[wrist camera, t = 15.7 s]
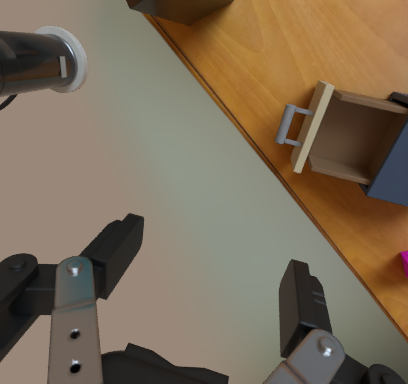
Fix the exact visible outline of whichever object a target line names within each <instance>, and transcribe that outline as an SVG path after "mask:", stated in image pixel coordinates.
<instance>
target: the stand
mask: <svg viewBox="0 0 408 384" xmlns="http://www.w3.org/2000/svg"><path fill="white" fill-rule="evenodd" d="M126 1H127V3H128V6H129V8H130V9H133V10H136V11H140V12H143V13H146V14H150V15H153V16H157V17H160V18H163V19H167V20H170V21H174V22H177V23H180V24H184V25H187V26H190V25H192V24H194V23H195V22H197V21H199V20H201V19H202V18H204V17H206V16H208V15H209V14H211V13H213V12H215V11H216V10H218V9H220V8H222V7H223V6H225V5H227V4H229V3H230V2H232V1H234V0H126Z"/></svg>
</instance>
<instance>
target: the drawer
mask: <svg viewBox="0 0 408 384" xmlns="http://www.w3.org/2000/svg"><path fill="white" fill-rule="evenodd" d="M334 88H335V86H333V85H331V84H329V83H328V82H326V81H321V80H318V83H317V86H316V89H315V91H314V94H313V97H312V100H311V102H310V105H309V108H308V110H306V109H302V108H297V107H296V106H295V105H292V104H286V107H285V110H284V113H283V116H282V119H281V123H280V126H279V129H278V132H277V135H276V138H275V142H276V143H279V144H284V143H287V144H291V145H295V146H294V149H293V152H292V155H291V162H292V167H293V172H296V173H301V171H302V168H303V166H304V163H305V161H306V158H307V161H308V164H309V167H310V170H311V171H314V172H318V173H322V174H326V175H330V176H334V177H338V178H342V179H346V180H350V181H354V182H358V183H362V184H366V185H370V183H371V182H372V180H373V178H374V176H375V174H376V172H377V171H378V169H379V167H380V165H381V163H382V162H383V160H384V158H385V156H386V154H387V152H388V151H389V149H390V147H391V145H392V143H393V141H394V140H395V138H396V136H397V134H398V132H399V131H400V129H401V127H402V125H403V123H404V121H405V120H406V118H407V116H408V106H407V105H404V104H400V103H395V102H391V101H386V100H382V99H377V98H373V97H368V96H363V95H359V94H354V93H350V92H345V91H341V90H336V89H334ZM294 112H298V113H303V114H306V116H305V119H304V122H303V124H302V127H301V130H300V133H299V135H298V138H297V141H294V140H289V139H285V138H286V135H287V132H288V129H289V127H290V124H291V121H292V118H293V115H294Z"/></svg>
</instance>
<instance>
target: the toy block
mask: <svg viewBox="0 0 408 384" xmlns="http://www.w3.org/2000/svg"><path fill="white" fill-rule="evenodd" d="M401 257H402V261H403V266H404V271H405V275H406V277H407V279H408V251H405V252H401Z"/></svg>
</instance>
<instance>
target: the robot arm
mask: <svg viewBox="0 0 408 384" xmlns="http://www.w3.org/2000/svg"><path fill="white" fill-rule="evenodd" d="M77 71H78V64H77V59H76V56H75V53H74V51H73V49H72V48H71V46H70V45H69V44H68V43H67V42H66V41H65V40H64V39H63V38H61V37H60V36H57V35H54V34H37V33H23V32H22V33H21V32H8V31H0V97H4V96H9V95H10V96H9V97H8V98H7V100H5V101H4V102H3V103H2V104H1V105H0V110H2V109H3V108H5V107H6V106H7V105H8V104H10V103H11V101H13V99H14V98H15V97H16V96H17V95H18V94H20V93H26V92H31V91H38V90H43V89H49V88H55V87H64V86H68V85H70V84H71V83H72V82H73V81H74V80H75V78H76V76H77ZM143 228H144V218H143V217H142V216H138V215H134V214H131V213H129V214H128V215H127V216H126V217H125V218H124V219H123V221H120V220H116V221H113V222H112V223H110V224H108V225H107V226H106V227H105V228H104V229H103V230H102V232H100V233H99V235H98V236H97V237H96V238H95V239H94V240H93V241H92V242H91V243H90V244H89V245H88V246H87V247H86V248H85V249H84V250H83V251H82V253H81V254H80V255H79V256H73V257H69V258H67V259H65V260H63V261H62V262H61V263H59V264H38V262H37V259H36V257H35V256H33V255H31V254H25V253H22V254H16V255H12V256H10V257H8V258H6V259H4V260H3V261H2V262H0V362H1V360H3V358H4V357H5V356H6V355H7V354H8V352H9V351H10V350H11V349H12V348H13V347H14V345H15V344H16V343H17V342H18V340H19V339H20V338H21V337H22V336H23V335H24V333H25V332H26V331H27V330H28V329H29V327H30V326H31V325H32V324H33V323H34V321H35V320H36V319H37V318H38V317H39V316H40V315H51V331H50V347H49V365H48V381H47V384H228V379H229V376H226V375H223V374H221V373H218V372H215V371H212V370H209V369H206V368H196V367H178V366H174V365H173V364H171V363H170V362H168V361H167V360H165V359H164V358H162V357H161V356H160V355H158V354H157V353H155V352H154V351H152V350H149V349H146V348H143V347H140V346H137V345H134V344H131V343H128V345H127V347H126V349H125V351H113V352H108V353H105V354H101V350H100V340H99V328H98V318H97V306H96V301H97V299H98V298H102V299H105V300H107V298H108V297H109V295H110V294H111V292H112V291H113V289H114V288H115V286H116V285H117V283H118V282H119V280H120V279H121V277H122V276H123V274H124V272H125V271H126V270H127V268H128V267H129V265H130V264H131V262H132V261H133V259H134V257H135V256H136V254H137V253H138V251H139V250H140V247H141V244H142V239H143ZM279 313H280V314H279V317H280V350H281V351H280V352H281V357H283V358H286V360H285V361H282V362H281V363H280V364H279V365H278V366H277V367H276V369H275V370H274V371H273V372H272V373H271V374H270V375H269V377H268V378H267V379H266V380H265V381H264V382H263V383H262V384H406V383H405V382H404V380H403V379H402V378H401V377H400V376H399V375H398V374H397V373H396V372H395V371H393V370H392V369H390V368H389V367H387V366H384V365H381V364H373V365H371V366H370V367H369V368H367V367H366V366H364V365H362V364H361V363H359V362H358V361H356V360H354V359H352V358H351V357H350V356H348V355H347V354H346V353H345V352H344V348H343V346H342V345H341V343H340V342H339V340H338V339H337V338H335V336H333V333H332V328H331V324H330V319H329V314H328V310H327V306H326V301H325V298H324V291H323V287H322V285H321V283H320V282H319V280H318V279H317V278H316V277H314V276H311V275H310V273H309V267H308V264H307V263H304V262H300V261H297V260H293V259H291V261H290V262H289V264H288V267H287V269H286V271H285V273H284V276H283V278H282V280H281V283H280V288H279Z"/></svg>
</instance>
